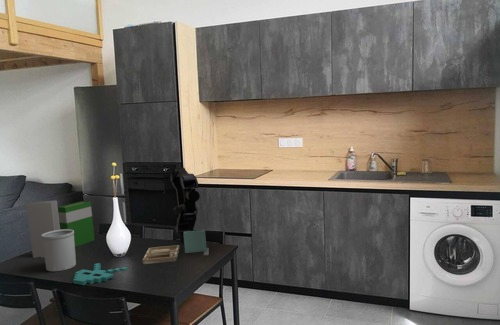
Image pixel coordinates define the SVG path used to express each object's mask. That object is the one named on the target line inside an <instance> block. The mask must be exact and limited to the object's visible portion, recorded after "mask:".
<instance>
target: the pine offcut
mask: <svg viewBox="0 0 500 325" xmlns="http://www.w3.org/2000/svg"><path fill="white" fill-rule="evenodd" d="M169 253H170V249H162V250H153V252H152V256H153V255H167V254H169Z"/></svg>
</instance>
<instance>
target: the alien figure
mask: <svg viewBox="0 0 500 325" xmlns="http://www.w3.org/2000/svg"><path fill="white" fill-rule="evenodd" d="M101 267H102V265H101V263H98V262H97V263H94V264H93V268H92V270H90V269H89V270H88V269H80V270H78V271H76V272H74V275H73V276H74V277H73V279H72V284H75V285H79V286H80V285H81V286H85V285H88V284H87V283H89V285H92V284H94V283H98V284H99V283H102V282H108V281H110V280H113V279H114V278H112V277H114V273H113V272H116V273H117V272H120V271H127V270H128V269H129V267H128V266H124V267H121V268H120V267H116V268H115V269H111V268H110V269H108V270H104V269H103V270H102V269H101Z"/></svg>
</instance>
